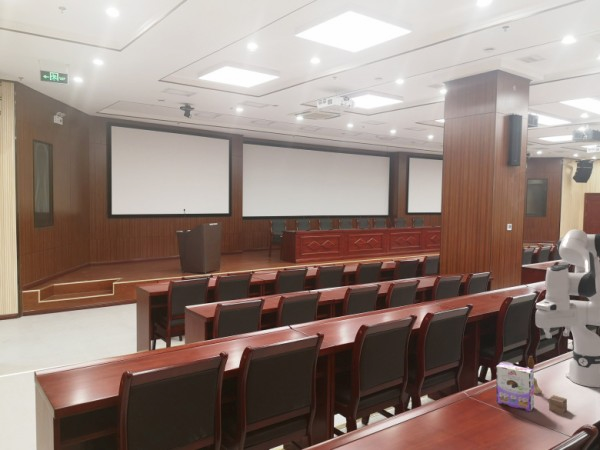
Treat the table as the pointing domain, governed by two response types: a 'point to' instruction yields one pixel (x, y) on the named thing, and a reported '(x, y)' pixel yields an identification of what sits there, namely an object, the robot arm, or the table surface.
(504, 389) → the candy box
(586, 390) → the table surface
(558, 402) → the walnut cube
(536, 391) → the hand bell
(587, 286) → the robot arm
